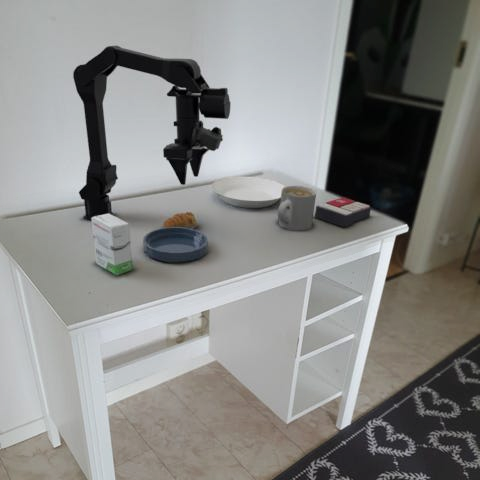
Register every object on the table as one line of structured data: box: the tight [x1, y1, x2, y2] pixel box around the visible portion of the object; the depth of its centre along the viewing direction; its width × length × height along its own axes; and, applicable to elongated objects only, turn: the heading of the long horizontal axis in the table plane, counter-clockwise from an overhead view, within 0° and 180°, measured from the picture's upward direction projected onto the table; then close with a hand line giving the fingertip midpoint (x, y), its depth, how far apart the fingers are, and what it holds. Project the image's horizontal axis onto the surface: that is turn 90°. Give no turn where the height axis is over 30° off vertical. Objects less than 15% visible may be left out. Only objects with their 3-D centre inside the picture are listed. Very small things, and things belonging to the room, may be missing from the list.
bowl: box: [211, 176, 286, 209], centre depth 162 cm, size 25×25×4 cm
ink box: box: [90, 213, 133, 276], centre depth 113 cm, size 9×5×12 cm, turn 46°
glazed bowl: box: [142, 227, 209, 264], centre depth 125 cm, size 16×16×3 cm
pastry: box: [162, 211, 198, 230], centre depth 138 cm, size 9×7×4 cm
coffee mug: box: [277, 185, 317, 231], centre depth 142 cm, size 13×10×10 cm
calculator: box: [314, 197, 372, 228], centre depth 152 cm, size 11×4×15 cm
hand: (189, 180), depth 129 cm, fingers open, 9 cm apart
